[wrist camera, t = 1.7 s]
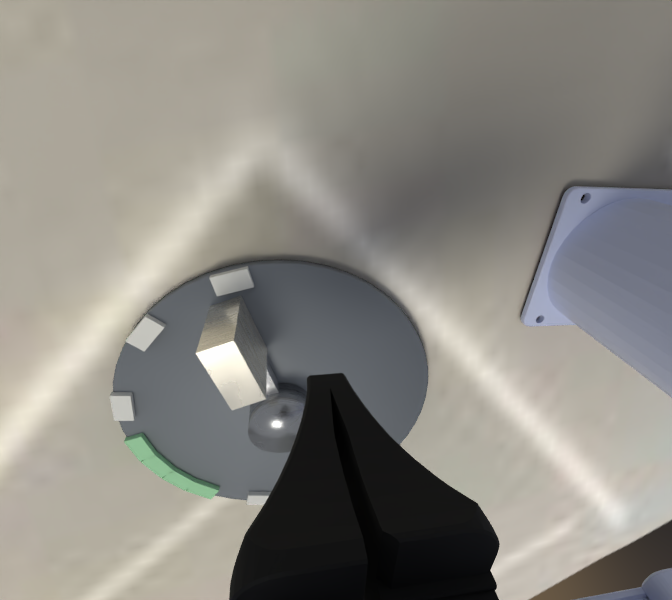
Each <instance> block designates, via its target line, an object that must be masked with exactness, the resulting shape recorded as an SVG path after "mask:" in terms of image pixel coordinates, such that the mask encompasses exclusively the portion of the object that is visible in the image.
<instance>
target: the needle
mask: <svg viewBox="0 0 672 600" xmlns="http://www.w3.org/2000/svg"><path fill="white" fill-rule="evenodd" d="M196 355H197V356H198V358H199V359H200V361H201V362H202V364H203V366H204V367H205V369H206V370H207V372H208V374H209V375H210V377H211V378H212V380H213V381H214V383H215V385H216V386H217V388H218V389H219V391H220V393H221V394H222V396H223V397H224V399H225V400H226V402H227V404H228V405H229V407H230V408H231V410H235V409H238V408H241V407H244V406H247V405H250V412H249V425H248V436H249V438H250V440H251V442H252V443H253V444H254V445H255V446H256V447H258V448H259V449H261V450H264V451H267V452H272V453H285V452H290V451H291V449H292V446H293V444H294V441H295V438H296V435H297V432H298V429H299V426H300V422H301V419H302V415H303V411H304V406H305V402H306V395H307V392H306V391H305V390H304V389H303V388H301V387H299V386H297V385H295V384H291V383H278V381H277V379H276V377H275V375H274V373H273V371H272V369H271V367H270V365H269V363H268V361H267V347H266V345H265V343H264V341H263V339H262V337H261V335H260V333H259V331H258V329H257V327H256V325H255V323H254V321H253V319H252V317H251V315H250V313H249V311H248V309H247V307H246V305H245V303H244V301H243V299H242V297H241V296H238V297H235V298H233V299H230V300H227V301H224V302H221V303H218V304H215V305H212V306H210V308H209V311H208V314H207V318H206V321H205V324H204V327H203V331H202V334H201V337H200V341H199V344H198V347H197V351H196Z"/></svg>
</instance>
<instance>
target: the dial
mask: <svg viewBox="0 0 672 600" xmlns="http://www.w3.org/2000/svg"><path fill="white" fill-rule="evenodd" d="M238 296H241V297H242V299H243V301H244V303H245V305H246V307H247V309H248V311H249V313H250V315H251V317H252V319H253V321H254V323H255V325H256V327H257V329H258V331H259V333H260V335H261V337H262V339H263V341H264V343H265V345H266V347H267V361H268V363H269V365H270V367H271V369H272V371H273V373H274V375H275V377H276V379H277V381H278V383H291V384H295V385H297V386H299V387H301V388H303V389H304V390H305V391H306V392H307V378H308V377H309V376H310V375H322V374H334V373H343V374H344V375H345V376H346V378H347V380H348V381H349V383H350V385H351V386H352V388H353V389H354V391H355V392H356V394H357V395H358V397H359V398H360V400H361V401H362V403H363V404H364V405H365V406H366V408H367V409H368V410H369V412H370V413H371V414H372V416H373V417H374V418H375V419H376V420H377V422H378V423H379V424H380V425H381V426H382V427H383V428H384V430H385V431H386V432H387V433H388V434H389V435H390V436H391V437H392V438H393V439H394V440H395V441H396V442H397V443H398V444H399V445H400V443H401V442H402V441H403V440H404V439H405V438H406V436H407V435H408V434H409V432H410V430H411V429H412V427H413V426H414V424H415V423H416V421H417V418H418V416H419V414H420V412H421V410H422V407H423V404H424V401H425V397H426V392H427V385H428V366H427V360H426V355H425V351H424V348H423V346H422V343H421V340H420V338H419V336H418V334H417V332H416V331H415V329H414V327H413V326H412V324H411V322H410V320H409V319H408V317H407V316H406V315H405V314H404V312H403V311H402V310H401V309H400V308H399V306H398V305H397V304H396V303H395V302H394V301H393V300H391V299H390V298H389V297H388V296H387V295H386V294H385V293H383V292H382V291H381V290H379V289H378V288H376V287H375V286H373V285H371V284H370V283H368V282H367V281H365V280H363V279H361V278H359V277H356V276H354V275H352V274H350V273H348V272H345V271H342V270H339V269H336V268H333V267H330V266H326V265H321V264H316V263H310V262H305V261H292V260H266V261H253V262H247V263H242V264H236V265H231V266H228V267H224V268H221V269H218V270H215V271H212V272H208V273H206V274H204V275H201V276H199V277H197V278H195V279H193V280H191V281H188V282H186V283H185V284H183V285H181V286H180V287H178V288H177V289H175V290H173V291H172V292H170V293H169V294H167V295H166V296H165V297H163V298H162V299H161V300H160V301H159V302H158V303H156V304H155V305H154V306H153V307H152V308H151V309H150V310H149V311H148V312H147V313H146V314H145V315H144V317H143V318H142V319H141V320H140V321H139V323H138V324H137V325H136V327H135V328H134V330H133V331H132V333H131V334H130V335H129V336H128V338H127V339H126V341H125V342H126V343H125V345H124V347H123V348H122V351H121V354H120V356H119V359H118V362H117V364H116V369H115V374H114V380H113V392H112V393H111V395H110V401H111V406H112V412H113V417H114V421H119V422H120V425H121V427H122V430H123V432H124V433H125V435H126V436H127V437H126V438H125V441H124V442H125V444H126V445H127V446H128V447H129V448H130V450H131V451H132V452H133V453H134V455H135V456H136V457H137V458H138V460H139V461H141V463H143V464H144V465H145V466H146V467H148V468H149V469H150V470H151V471H153V472H154V473H155V474H157V475H158V476H159V477H160V478H162V479H163V480H165V481H167V482H169V483H171V484H173V485H175V486H177V487H179V488H181V489H183V490H184V491H185V490H186V491H187V492H190V493H193V494H196V495H199V496H202V497H205V498H208V499H212V498H213V497H214V496H221V497H226V498H231V499H240V500H247V504H246V505H264V504H265V502H266V500H267V499H268V497H269V495H270V493H271V491H272V490H273V488H274V486H275V484H276V482H277V480H278V478H279V476H280V474H281V472H282V470H283V468H284V466H285V463H286V461H287V459H288V456H289V454H290V452H291V451H290V452H285V453H272V452H267V451H264V450H261V449H259V448H258V447H256V446H255V445H254V444H253V443H252V442H251V440H250V438H249V436H248V425H249V412H250V405H247V406H244V407H241V408H238V409H235V410H231V408H230V407H229V405H228V404H227V402H226V400H225V399H224V397H223V396H222V394H221V393H220V391H219V389H218V388H217V386H216V385H215V383H214V381H213V380H212V378H211V377H210V375H209V374H208V372H207V370H206V369H205V367H204V366H203V364H202V362H201V361H200V359H199V358H198V356H197V355H196V351H197V347H198V344H199V341H200V337H201V334H202V331H203V327H204V324H205V321H206V318H207V314H208V311H209V308H210V306H212V305H215V304H218V303H221V302H224V301H227V300H230V299H233V298H235V297H238Z"/></svg>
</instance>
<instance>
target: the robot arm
mask: <svg viewBox="0 0 672 600" xmlns="http://www.w3.org/2000/svg"><path fill="white" fill-rule="evenodd" d="M584 194H585V197H584V198H583V200H581V197H582V196H583V195H584ZM538 316H539V318H537V317H538ZM536 318H537V319H536ZM521 322H522V323H523V324H525V325H526V326H555V325H577V326H578V327H580V328H581V329H582V330H583V331H585V332H586V333H587V334H589V335H590V336H591V337H593V338H594V339H595V340H597V341H598V342H599V343H601V344H602V345H603V346H605V347H606V348H607V349H608V350H610V351H611V352H612V353H614V354H615V355H616V356H618V357H619V358H620V359H622V360H623V361H624V362H626V363H627V364H628V365H629V366H631V367H632V368H633V369H635V370H636V371H637V372H639V373H640V374H641V375H643V376H644V377H645V378H647V379H648V380H649V381H651V382H652V383H653V384H654V385H656V386H657V387H658V388H660V389H661V390H662V391H664V392H665V393H666V394H668V395H669V396H670V397H672V189H645V188H616V187H586V186H573V187H571V188H569V189H568V190H567V191H566V192H565V193H564V195H563V197H562V200H561V203H560V206H559V209H558V212H557V214H556V217H555V220H554V223H553V226H552V229H551V232H550V235H549V237H548V240H547V243H546V246H545V249H544V252H543V255H542V258H541V260H540V263H539V266H538V269H537V272H536V275H535V278H534V281H533V283H532V286H531V289H530V292H529V295H528V298H527V301H526V304H525V307H524V309H523V312H522V315H521ZM498 549H499V540H498V537H497V535H496V533H495V531H494V529H493V527H492V526H491V524H490V522H489V521H488V519H487V517H486V516H485V514H484V513H483V511H482V510H481V508H480V507H479V505H478V504H477V503H476V502H474V501H473V500H471V499H469V498H468V497H466V496H465V495H463V494H461V493H460V492H458V491H457V490H455V489H453V488H452V487H450V486H449V485H447V484H446V483H445V482H443V481H442V480H440V479H439V478H438V477H436V476H435V475H434V474H432V473H431V472H430V471H429V470H427V469H426V468H425V467H424V466H423V465H421V464H420V463H419V462H418V461H416V460H415V459H414V458H413V457H412V456H411V455H409V454H408V453H407V452H406V451H405V450H404V449H403V448H402V447H401V446H400V445H399V444H398V443H397V442H396V441H395V440H394V439H393V438H392V437H391V436H390V435H389V434H388V433H387V432H386V431H385V430H384V428H383V427H382V426H381V425H380V424H379V423H378V422H377V420H376V419H375V418H374V417H373V416H372V414H371V413H370V412H369V410H368V409H367V408H366V406H365V405H364V404H363V403H362V401H361V400H360V398H359V397H358V395H357V394H356V392H355V391H354V389H353V388H352V386H351V385H350V383H349V381H348V380H347V378H346V376H345V375H344V374H343V373H334V374H322V375H310V376H309V377H308V378H307V395H306V402H305V406H304V411H303V415H302V419H301V422H300V426H299V429H298V432H297V435H296V438H295V441H294V444H293V446H292V449H291V452H290V454H289V456H288V459H287V461H286V463H285V466H284V468H283V470H282V472H281V474H280V476H279V478H278V480H277V482H276V484H275V486H274V488H273V490H272V491H271V493H270V495H269V497H268V499H267V500H266V502H265V504H264V506H263V507H262V509H261V511H260V512H259V514H258V515H257V517H256V518H255V520H254V522H253V523H252V525H251V526H250V528H249V529H248V531H247V532H246V534H245V536H244V539H243V542H242V545H241V547H240V550H239V553H238V556H237V559H236V562H235V566H234V569H233V574H232V579H231V584H230V598H229V600H499V599H498V597H497V594H496V592H495V590H496V588H497V585H496V582H495V580H494V577H493V575H492V573H491V571H490V569H491V567H492V565H493V562H494V560H495V558H496V555H497V553H498ZM574 600H672V568H670V569H664V570H660V571H657V572H654V573H652V574H651V575H649V576H648V577H647V578H646V579H645V580H644V582H643V584H642V587H639V588H633V589H628V590H623V591H617V592H612V593H607V594H602V595H596V596H590V597H585V598H580V599H574Z"/></svg>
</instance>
